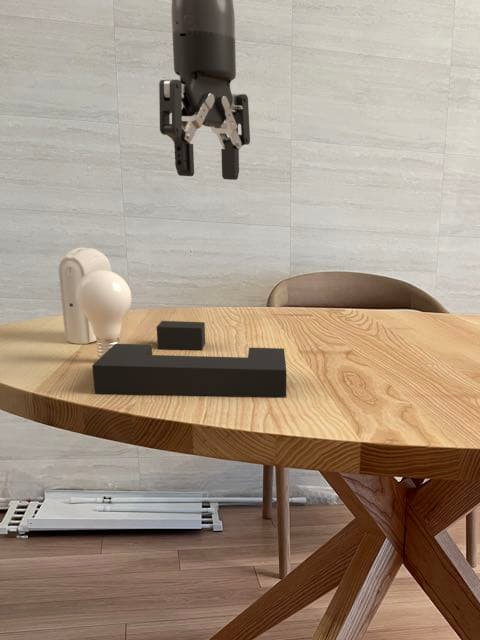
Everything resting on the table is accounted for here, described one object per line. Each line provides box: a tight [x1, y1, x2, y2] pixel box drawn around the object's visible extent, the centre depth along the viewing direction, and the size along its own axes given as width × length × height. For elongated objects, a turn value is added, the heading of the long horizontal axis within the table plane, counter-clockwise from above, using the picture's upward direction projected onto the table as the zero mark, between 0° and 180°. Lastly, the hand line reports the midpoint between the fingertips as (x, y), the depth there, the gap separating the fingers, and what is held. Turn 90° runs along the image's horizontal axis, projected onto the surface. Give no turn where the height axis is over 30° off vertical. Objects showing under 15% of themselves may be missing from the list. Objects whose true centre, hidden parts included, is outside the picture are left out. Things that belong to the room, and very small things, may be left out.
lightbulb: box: [76, 269, 133, 359], centre depth 101 cm, size 6×6×11 cm
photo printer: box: [58, 246, 112, 345], centre depth 116 cm, size 10×4×12 cm, turn 177°
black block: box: [156, 320, 206, 351], centre depth 116 cm, size 6×6×3 cm
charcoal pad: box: [91, 343, 287, 398], centre depth 94 cm, size 20×14×3 cm
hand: (208, 177), depth 107 cm, fingers open, 8 cm apart
